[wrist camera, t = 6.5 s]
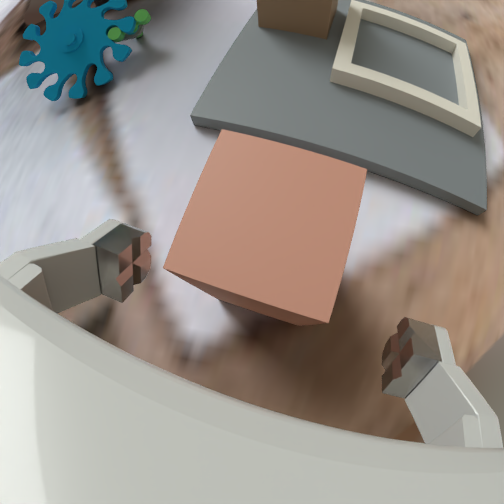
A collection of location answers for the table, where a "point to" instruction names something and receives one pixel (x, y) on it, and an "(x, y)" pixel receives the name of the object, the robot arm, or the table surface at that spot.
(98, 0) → the camera lens
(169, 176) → the table surface
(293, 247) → the pillar block
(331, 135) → the base plate
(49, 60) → the gear
